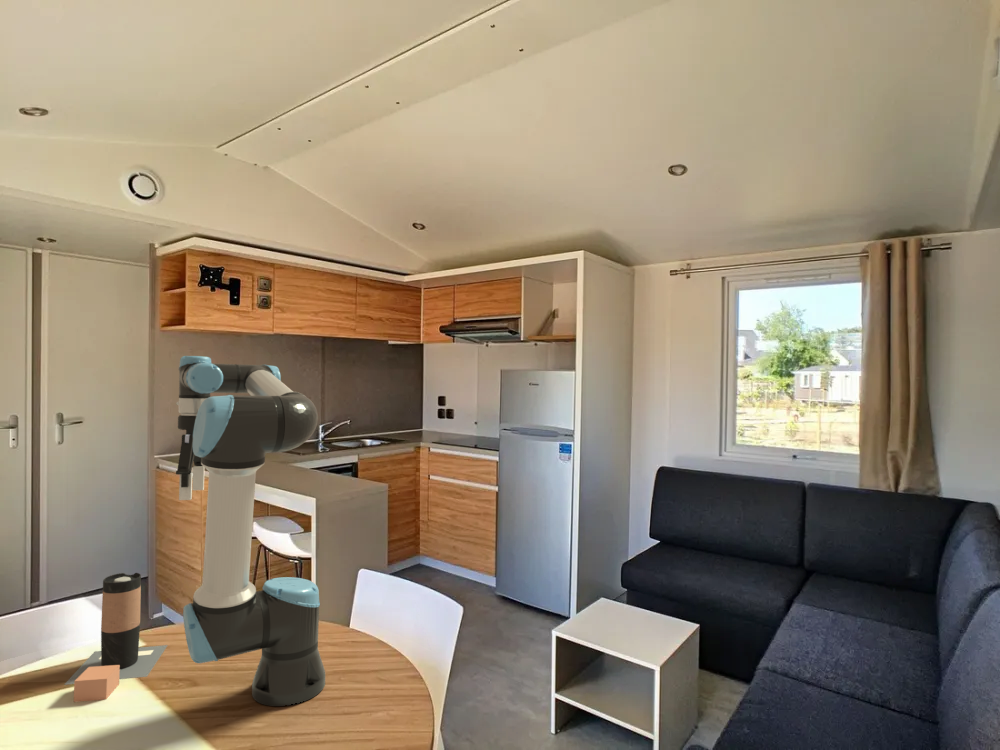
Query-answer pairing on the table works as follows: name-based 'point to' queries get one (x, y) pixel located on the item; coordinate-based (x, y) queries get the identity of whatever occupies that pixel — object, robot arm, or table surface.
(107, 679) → the terracotta block
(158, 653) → the letter mat
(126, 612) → the travel mug
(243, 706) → the table surface
